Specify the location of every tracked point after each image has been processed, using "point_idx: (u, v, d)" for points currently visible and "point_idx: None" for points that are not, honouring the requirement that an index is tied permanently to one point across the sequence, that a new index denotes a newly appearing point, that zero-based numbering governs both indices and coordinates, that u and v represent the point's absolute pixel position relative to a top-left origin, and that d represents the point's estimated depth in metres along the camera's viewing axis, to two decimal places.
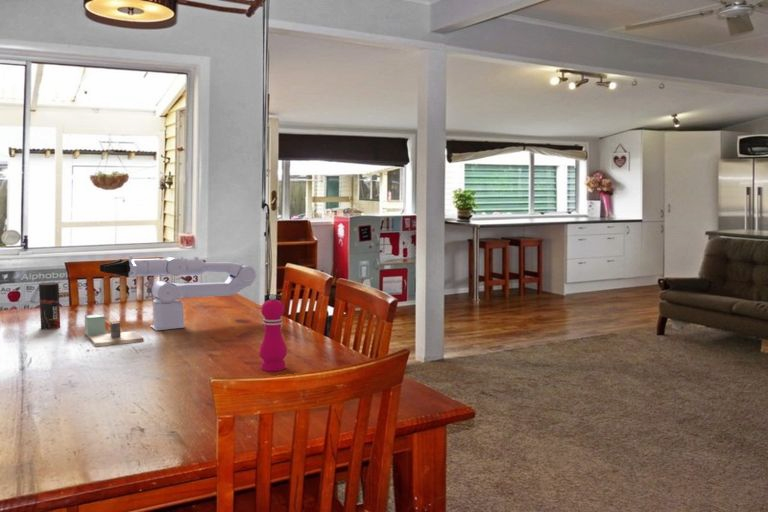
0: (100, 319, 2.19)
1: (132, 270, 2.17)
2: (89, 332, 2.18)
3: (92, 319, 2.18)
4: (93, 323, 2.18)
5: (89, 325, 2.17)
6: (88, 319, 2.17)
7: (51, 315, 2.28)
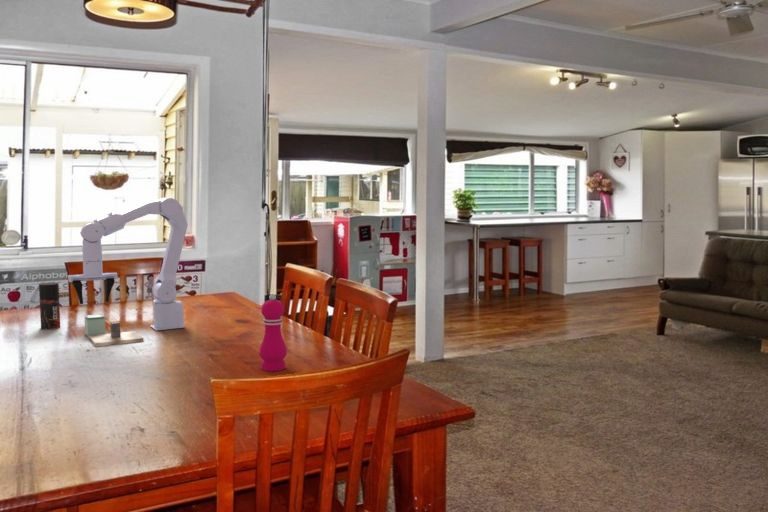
0: (100, 319, 2.19)
1: (68, 280, 2.15)
2: (89, 332, 2.18)
3: (92, 319, 2.18)
4: (93, 323, 2.18)
5: (89, 325, 2.17)
6: (88, 319, 2.17)
7: (51, 315, 2.28)
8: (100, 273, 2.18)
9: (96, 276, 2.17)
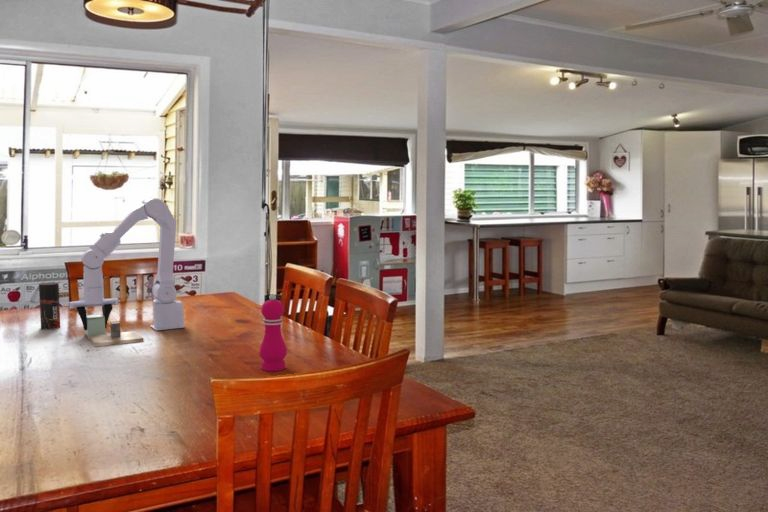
0: (100, 319, 2.19)
1: (69, 306, 2.16)
2: (89, 332, 2.18)
3: (92, 319, 2.18)
4: (93, 323, 2.18)
5: (89, 325, 2.17)
6: (88, 319, 2.17)
7: (51, 315, 2.28)
8: (101, 299, 2.19)
9: (97, 302, 2.18)
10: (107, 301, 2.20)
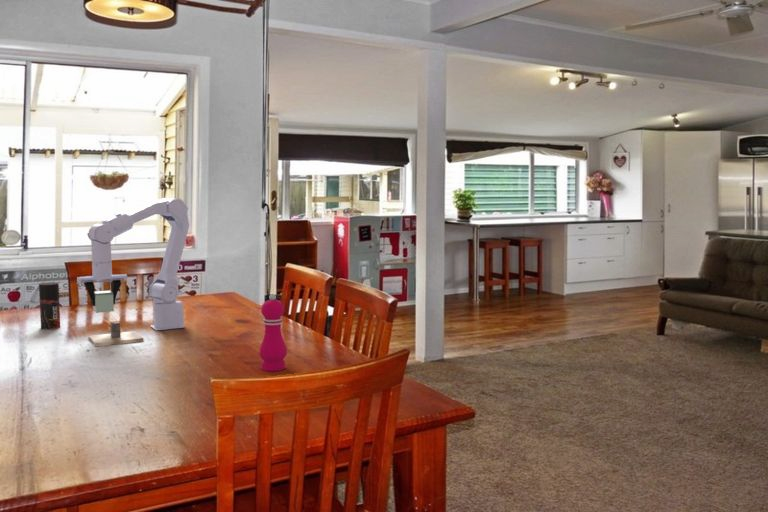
0: (109, 295, 2.15)
1: (77, 282, 2.11)
2: (97, 308, 2.13)
3: (100, 295, 2.13)
4: (101, 299, 2.14)
5: (97, 301, 2.13)
6: (96, 295, 2.13)
7: (51, 315, 2.28)
8: (109, 275, 2.15)
9: (105, 278, 2.13)
10: (116, 277, 2.16)
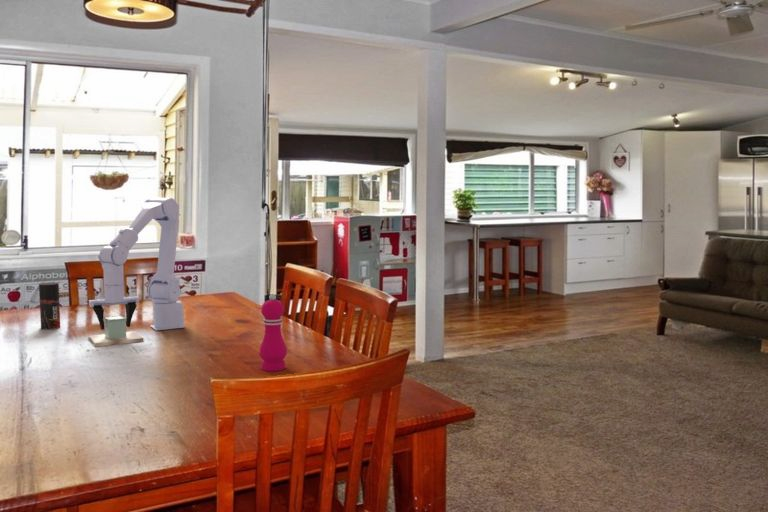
0: (122, 321, 2.11)
1: (89, 305, 2.07)
2: (110, 335, 2.10)
3: (113, 321, 2.10)
4: (114, 325, 2.10)
5: (110, 327, 2.09)
6: (109, 321, 2.09)
7: (51, 315, 2.28)
8: (122, 297, 2.11)
9: (118, 301, 2.10)
10: (128, 299, 2.12)
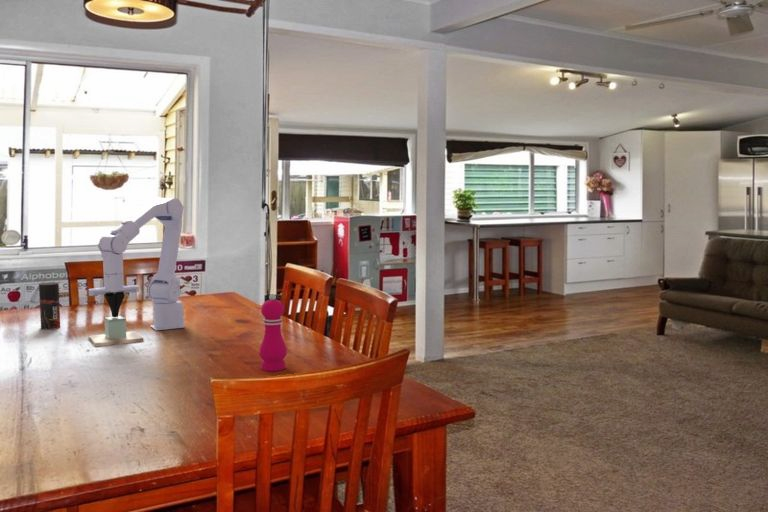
0: (122, 321, 2.11)
1: (89, 294, 2.07)
2: (110, 335, 2.10)
3: (113, 321, 2.10)
4: (114, 325, 2.10)
5: (110, 327, 2.09)
6: (109, 321, 2.09)
7: (51, 315, 2.28)
8: (121, 286, 2.11)
9: (118, 289, 2.09)
10: (128, 288, 2.12)
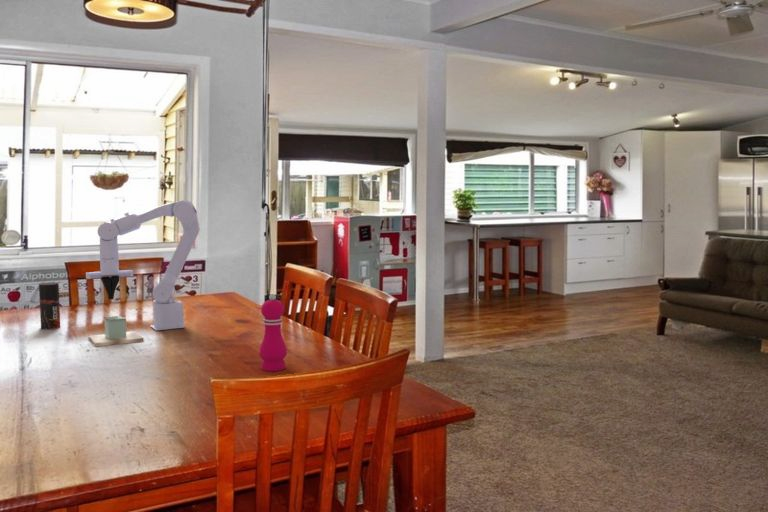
0: (122, 321, 2.11)
1: (86, 277, 2.22)
2: (110, 335, 2.10)
3: (113, 321, 2.10)
4: (114, 325, 2.10)
5: (110, 327, 2.09)
6: (109, 321, 2.09)
7: (51, 315, 2.28)
8: (117, 270, 2.26)
9: (113, 273, 2.24)
10: (122, 272, 2.27)
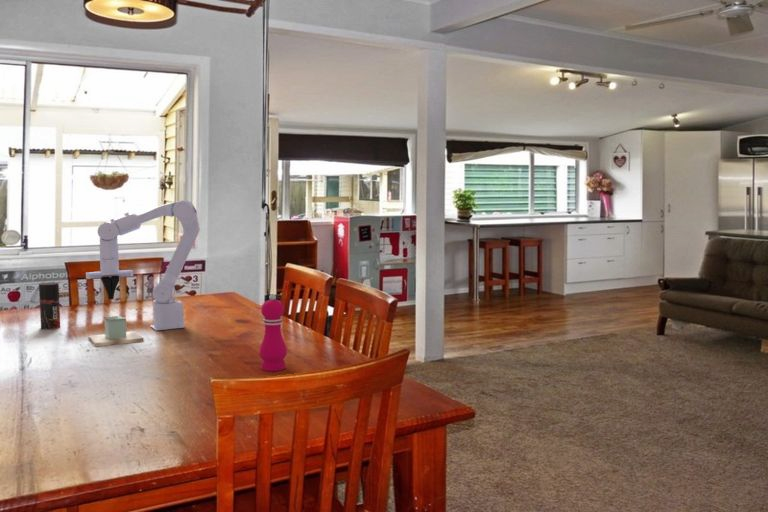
0: (122, 321, 2.11)
1: (86, 277, 2.22)
2: (110, 335, 2.10)
3: (113, 321, 2.10)
4: (114, 325, 2.10)
5: (110, 327, 2.09)
6: (109, 321, 2.09)
7: (51, 315, 2.28)
8: (117, 270, 2.26)
9: (113, 273, 2.24)
10: (122, 272, 2.27)
